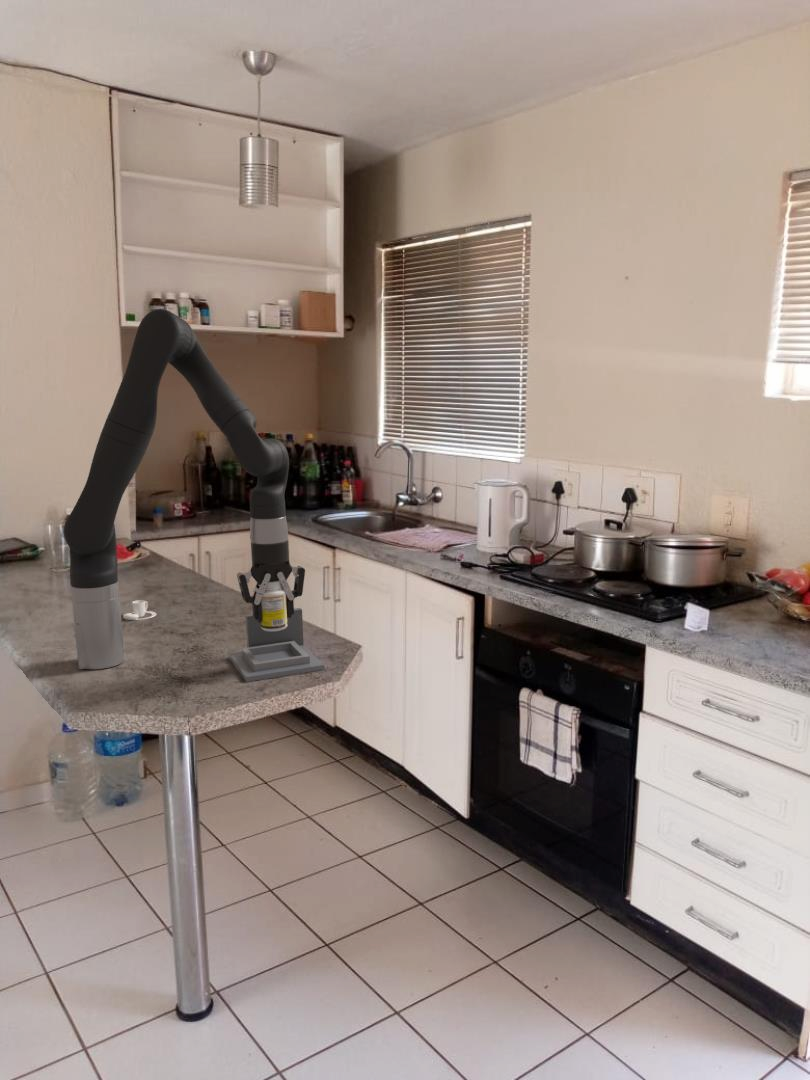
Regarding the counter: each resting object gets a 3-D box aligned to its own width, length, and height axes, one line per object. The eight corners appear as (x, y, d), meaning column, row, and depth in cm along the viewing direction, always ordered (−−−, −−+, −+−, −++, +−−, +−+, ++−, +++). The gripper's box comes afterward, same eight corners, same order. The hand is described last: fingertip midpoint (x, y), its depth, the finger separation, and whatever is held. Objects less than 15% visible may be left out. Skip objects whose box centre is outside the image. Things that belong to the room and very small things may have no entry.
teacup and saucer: (127, 624, 207) (126, 608, 206) (115, 617, 213) (114, 602, 212) (161, 617, 212) (160, 601, 211) (148, 611, 218) (147, 596, 217)
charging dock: (246, 682, 164) (243, 637, 163) (229, 658, 179) (226, 617, 177) (324, 669, 170) (322, 626, 169) (301, 647, 185) (300, 607, 183)
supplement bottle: (270, 623, 177) (267, 576, 175) (292, 626, 175) (290, 578, 173) (255, 630, 172) (252, 582, 170) (278, 633, 170) (275, 584, 168)
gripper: (238, 545, 164) (243, 628, 167) (309, 538, 169) (313, 619, 173) (230, 539, 170) (235, 619, 174) (298, 532, 176) (302, 610, 179)
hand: (274, 618), depth 173 cm, fingers closed on supplement bottle, 5 cm apart
